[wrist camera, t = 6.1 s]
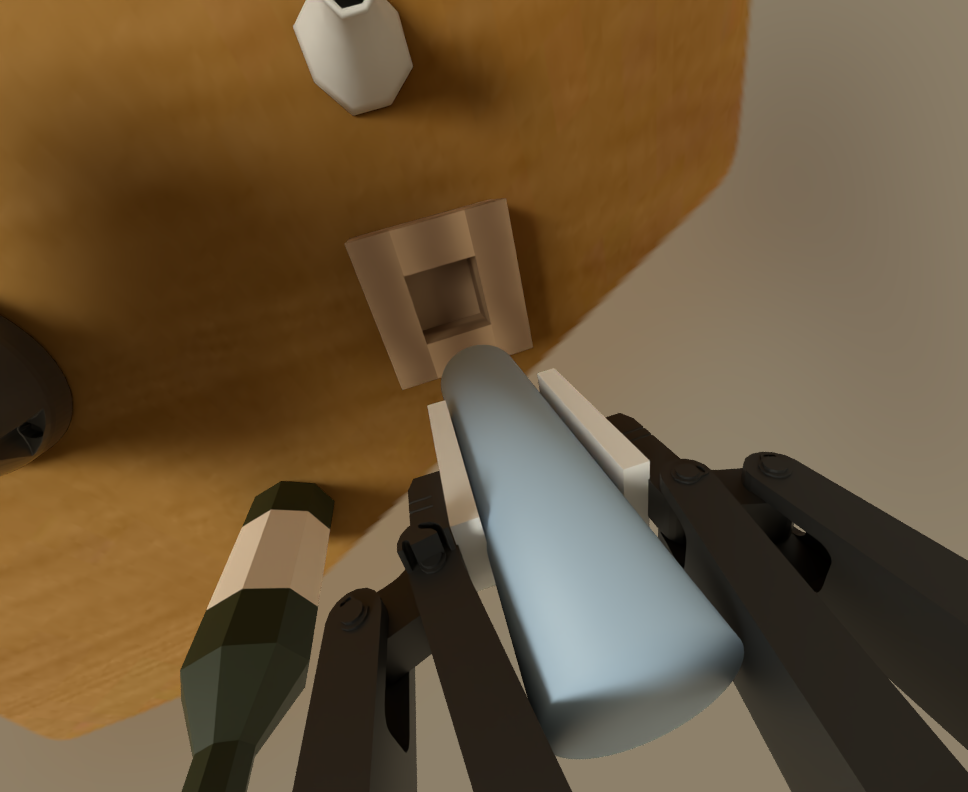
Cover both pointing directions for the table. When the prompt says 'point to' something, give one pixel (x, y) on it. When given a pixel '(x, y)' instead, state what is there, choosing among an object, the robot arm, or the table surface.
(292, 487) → the wine bottle
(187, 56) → the table surface
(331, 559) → the table surface
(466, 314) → the bore block
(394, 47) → the flask
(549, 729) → the dowel
